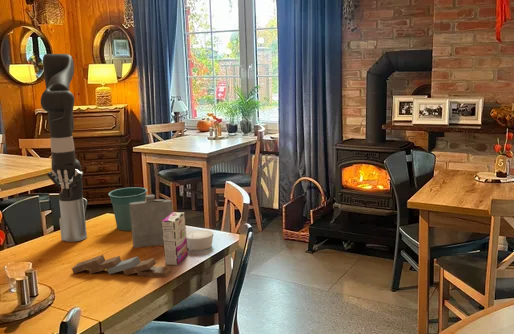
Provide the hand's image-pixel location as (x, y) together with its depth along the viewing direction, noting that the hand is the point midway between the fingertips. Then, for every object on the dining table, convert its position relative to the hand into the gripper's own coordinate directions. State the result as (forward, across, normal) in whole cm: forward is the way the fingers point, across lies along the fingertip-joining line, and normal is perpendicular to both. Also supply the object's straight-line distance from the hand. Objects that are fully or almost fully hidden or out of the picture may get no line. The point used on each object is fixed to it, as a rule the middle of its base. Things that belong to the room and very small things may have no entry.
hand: (68, 198), depth 182 cm
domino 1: (+24, -3, +5) cm, 24 cm away
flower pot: (+26, -2, -45) cm, 52 cm away
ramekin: (+25, -40, -22) cm, 52 cm away
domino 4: (+24, -22, +5) cm, 33 cm away
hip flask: (+25, -21, -23) cm, 40 cm away
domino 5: (+24, -27, +5) cm, 36 cm away
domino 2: (+24, -9, +5) cm, 26 cm away
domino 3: (+24, -16, +5) cm, 29 cm away
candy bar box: (+25, -35, -8) cm, 44 cm away
